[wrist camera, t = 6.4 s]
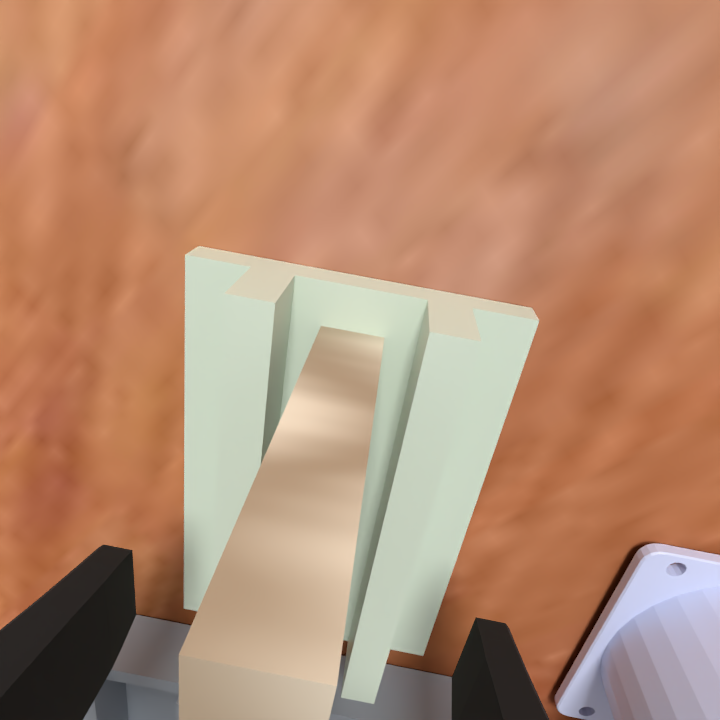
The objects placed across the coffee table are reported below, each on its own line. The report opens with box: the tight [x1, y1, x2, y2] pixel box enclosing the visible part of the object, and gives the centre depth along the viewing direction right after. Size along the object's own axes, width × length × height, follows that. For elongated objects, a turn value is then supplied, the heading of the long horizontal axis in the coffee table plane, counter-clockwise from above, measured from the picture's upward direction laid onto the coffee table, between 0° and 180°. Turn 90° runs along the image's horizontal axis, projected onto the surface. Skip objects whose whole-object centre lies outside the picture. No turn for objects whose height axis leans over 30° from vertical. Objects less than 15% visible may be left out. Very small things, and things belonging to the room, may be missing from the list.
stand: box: [184, 246, 539, 704], centre depth 14 cm, size 8×12×3 cm, turn 171°
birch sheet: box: [179, 326, 384, 720], centre depth 11 cm, size 2×10×8 cm, turn 171°
